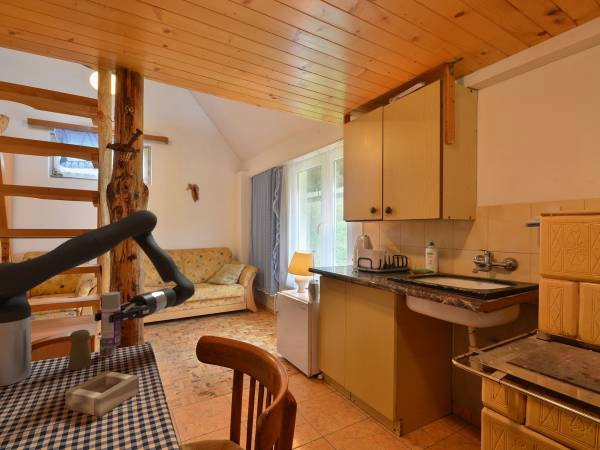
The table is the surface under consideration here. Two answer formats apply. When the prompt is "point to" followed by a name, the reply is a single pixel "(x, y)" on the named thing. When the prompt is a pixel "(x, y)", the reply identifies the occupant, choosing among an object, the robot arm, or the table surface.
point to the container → (108, 329)
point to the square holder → (92, 398)
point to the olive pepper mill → (79, 350)
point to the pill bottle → (106, 350)
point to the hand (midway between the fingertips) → (102, 318)
